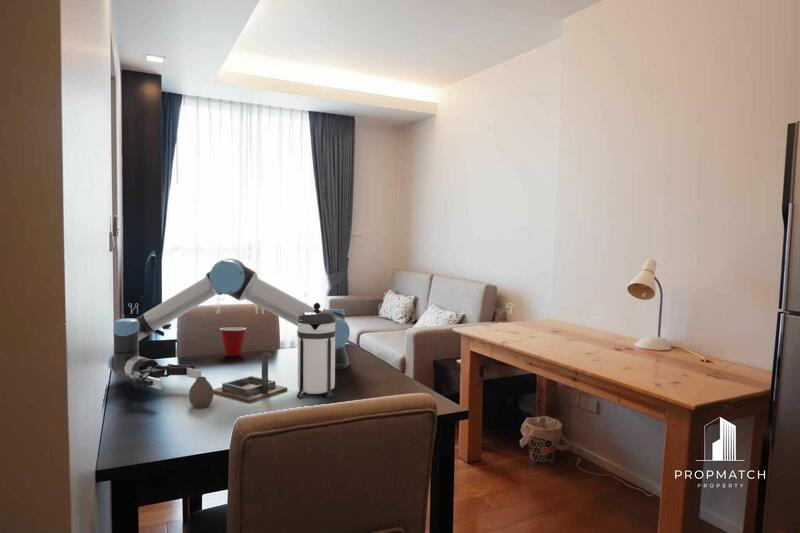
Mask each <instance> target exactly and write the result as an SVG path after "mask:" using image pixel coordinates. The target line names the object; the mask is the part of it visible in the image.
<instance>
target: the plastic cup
mask: <svg viewBox="0 0 800 533" xmlns="http://www.w3.org/2000/svg"><path fill="white" fill-rule="evenodd" d="M219 330H220V332H221V336H222V341H223V348H224V352H225V355H226V356H225V357H238V356H240V355H241V353H242V352H241V351H242V347H243V340H244V335H245V332H246V330H247V327H237V326H236V327H232V326H231V327H229V326H228V327H220V328H219Z"/></svg>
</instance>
